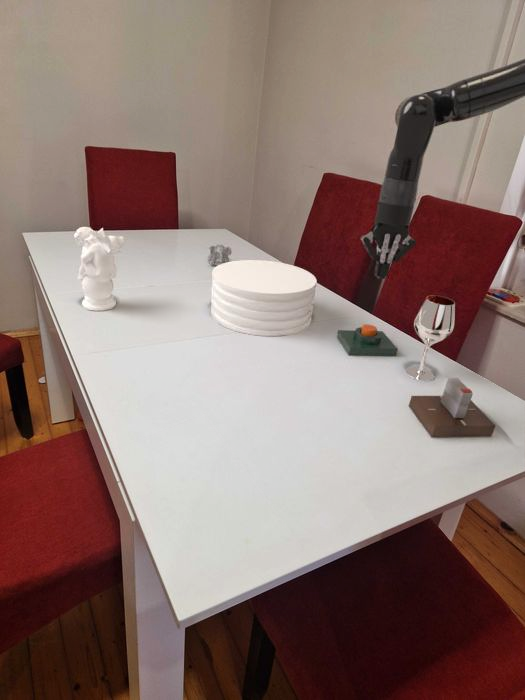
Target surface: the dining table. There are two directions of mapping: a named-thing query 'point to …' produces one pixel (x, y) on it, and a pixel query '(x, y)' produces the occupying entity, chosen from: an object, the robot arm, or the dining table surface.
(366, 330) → the button
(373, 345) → the button box
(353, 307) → the dining table surface
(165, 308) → the dining table surface
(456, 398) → the tap knob
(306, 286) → the plate stack
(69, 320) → the dining table surface
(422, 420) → the panel
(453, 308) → the wineglass
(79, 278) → the cherub figurine
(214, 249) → the elephant statuette
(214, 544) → the dining table surface
